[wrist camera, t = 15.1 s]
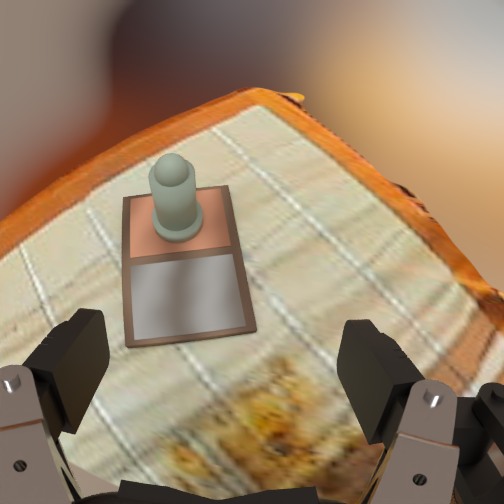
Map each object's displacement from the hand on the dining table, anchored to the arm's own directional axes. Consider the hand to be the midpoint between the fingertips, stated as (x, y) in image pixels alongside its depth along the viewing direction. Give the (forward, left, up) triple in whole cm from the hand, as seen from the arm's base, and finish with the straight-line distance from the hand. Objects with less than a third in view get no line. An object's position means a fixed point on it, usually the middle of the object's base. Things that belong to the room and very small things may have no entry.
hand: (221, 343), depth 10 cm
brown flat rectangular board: (+2, -14, -22) cm, 26 cm away
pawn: (+2, -19, -20) cm, 28 cm away
